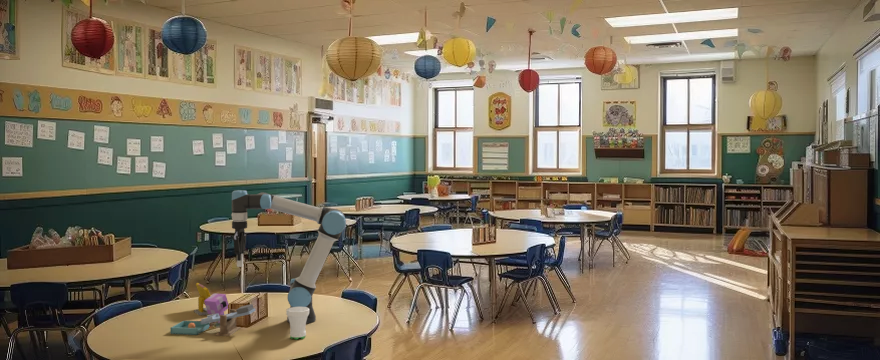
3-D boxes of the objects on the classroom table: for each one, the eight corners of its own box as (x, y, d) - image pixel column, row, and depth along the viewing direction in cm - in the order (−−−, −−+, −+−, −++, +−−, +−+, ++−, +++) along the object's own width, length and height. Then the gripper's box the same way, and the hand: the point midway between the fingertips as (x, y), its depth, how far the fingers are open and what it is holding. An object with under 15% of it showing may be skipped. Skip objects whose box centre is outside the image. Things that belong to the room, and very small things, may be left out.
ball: (196, 328, 350) (196, 322, 349) (193, 330, 346) (193, 324, 346) (189, 328, 350) (190, 321, 350) (186, 330, 346) (186, 323, 346)
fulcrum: (240, 328, 353) (240, 309, 352) (229, 336, 339) (229, 316, 338) (227, 328, 353) (227, 308, 353) (215, 335, 340) (215, 315, 339)
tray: (209, 327, 354) (209, 321, 354) (197, 334, 340) (197, 328, 340) (183, 326, 356) (183, 320, 356) (170, 334, 342) (170, 327, 342)
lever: (256, 310, 350) (254, 303, 350) (248, 315, 339) (247, 307, 339) (208, 320, 352) (207, 313, 352) (200, 325, 342) (198, 318, 342)
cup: (298, 342, 329) (298, 313, 328) (281, 338, 335) (281, 310, 334) (314, 336, 338) (314, 308, 338) (297, 333, 344) (297, 305, 344)
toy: (234, 318, 368) (227, 294, 364) (224, 326, 362) (217, 302, 357) (219, 317, 373) (212, 293, 368) (209, 325, 366) (202, 300, 362)
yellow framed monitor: (215, 315, 380) (215, 287, 379) (201, 317, 375) (200, 288, 375) (205, 308, 396) (205, 281, 396) (191, 310, 392) (191, 282, 391)
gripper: (237, 219, 356) (237, 264, 357) (227, 222, 343) (227, 268, 344) (251, 219, 355) (251, 264, 356) (241, 222, 342) (242, 269, 343)
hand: (240, 266), depth 350 cm, fingers closed
